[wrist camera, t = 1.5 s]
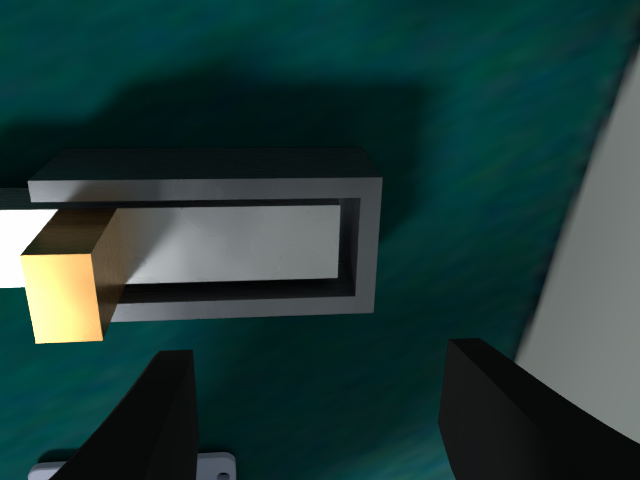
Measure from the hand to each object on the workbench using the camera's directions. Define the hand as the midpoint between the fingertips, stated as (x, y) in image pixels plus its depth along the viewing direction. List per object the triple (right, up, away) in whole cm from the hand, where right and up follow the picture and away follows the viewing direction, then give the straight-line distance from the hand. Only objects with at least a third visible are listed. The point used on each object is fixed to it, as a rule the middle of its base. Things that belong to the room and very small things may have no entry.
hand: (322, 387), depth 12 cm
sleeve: (-4, +4, +9) cm, 10 cm away
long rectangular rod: (-6, +3, +8) cm, 10 cm away
